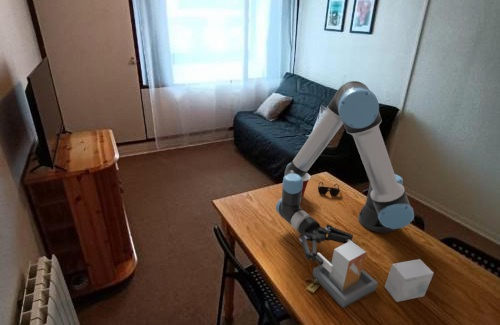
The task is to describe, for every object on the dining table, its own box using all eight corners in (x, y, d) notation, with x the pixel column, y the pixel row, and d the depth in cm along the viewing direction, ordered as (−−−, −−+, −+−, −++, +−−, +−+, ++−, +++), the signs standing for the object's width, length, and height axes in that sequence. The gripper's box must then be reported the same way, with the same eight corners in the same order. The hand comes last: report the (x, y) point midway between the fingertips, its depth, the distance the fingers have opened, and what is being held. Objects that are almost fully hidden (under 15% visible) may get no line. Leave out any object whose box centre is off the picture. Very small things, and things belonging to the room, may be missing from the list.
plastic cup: (311, 194, 149) (314, 173, 144) (303, 204, 141) (305, 182, 136) (292, 188, 155) (293, 167, 149) (282, 197, 146) (284, 176, 141)
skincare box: (397, 303, 93) (405, 278, 88) (384, 286, 98) (391, 263, 94) (425, 297, 95) (434, 272, 90) (411, 281, 101) (419, 257, 96)
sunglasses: (317, 195, 149) (318, 185, 148) (318, 186, 160) (319, 177, 159) (338, 198, 147) (340, 188, 145) (338, 189, 158) (339, 180, 156)
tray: (343, 261, 108) (345, 254, 107) (375, 290, 97) (377, 282, 95) (312, 275, 102) (313, 268, 100) (342, 308, 91) (344, 300, 89)
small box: (342, 292, 95) (349, 261, 89) (328, 279, 100) (333, 248, 94) (359, 281, 99) (366, 251, 93) (344, 269, 104) (350, 239, 98)
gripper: (329, 223, 119) (372, 257, 102) (277, 243, 108) (315, 285, 91) (331, 207, 116) (376, 240, 99) (278, 226, 105) (318, 266, 88)
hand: (347, 261), depth 95 cm, fingers open, 13 cm apart
